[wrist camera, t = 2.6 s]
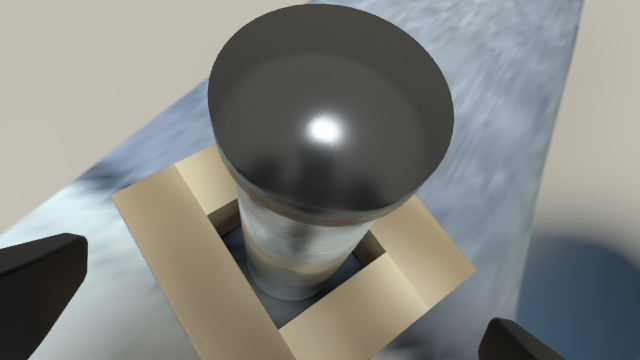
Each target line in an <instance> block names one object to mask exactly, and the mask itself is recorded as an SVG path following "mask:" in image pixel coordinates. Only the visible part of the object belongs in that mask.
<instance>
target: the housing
mask: <svg viewBox="0 0 640 360" xmlns="http://www.w3.org/2000/svg"><path fill="white" fill-rule="evenodd" d="M111 198H112V200H113V202H114V204H115V206H116V207H117V209H118V211H119V213H120V215H121V217H122V218H123V220H124V222H125V224H126V226H127V227H128V229H129V231H130V233H131V235H132V237H133V238H134V240H135V242H136V244H137V246H138V248H139V249H140V251H141V253H142V255H143V257H144V258H145V260H146V262H147V264H148V266H149V268H150V269H151V271H152V273H153V275H154V277H155V279H156V280H157V282H158V284H159V286H160V288H161V289H162V291H163V293H164V295H165V297H166V299H167V300H168V302H169V304H170V306H171V308H172V310H173V311H174V313H175V315H176V317H177V319H178V320H179V322H180V324H181V326H182V328H183V330H184V331H185V333H186V335H187V337H188V339H189V341H190V342H191V344H192V346H193V348H194V350H195V351H196V353H197V355H198V357H199V359H200V360H369V359H370V358H372V357H373V356H374V355H375V354H376V353H378V352H379V351H380V350H381V349H382V348H384V347H385V346H386V345H387V344H388V343H390V342H391V341H392V340H393V339H394V338H396V337H397V336H398V335H399V334H401V333H402V332H403V331H404V330H405V329H407V328H408V327H409V326H410V325H411V324H413V323H414V322H415V321H416V320H417V319H419V318H420V317H421V316H422V315H423V314H425V313H426V312H427V311H428V310H429V309H431V308H432V307H433V306H434V305H436V304H437V303H438V302H439V301H440V300H442V299H443V298H444V297H445V296H446V295H448V294H449V293H450V292H451V291H452V290H454V289H455V288H456V287H457V286H458V285H460V284H461V283H462V282H463V281H464V280H466V279H467V278H468V277H469V276H471V275H472V274H473V273H474V272H475V271H477V270H476V269H475V267H474V266H473V265H472V264H471V263H470V261H469V260H468V259H467V258H466V257H465V255H464V254H463V253H462V252H461V250H460V249H459V248H458V247H457V246H456V244H455V243H454V242H453V241H452V239H451V238H450V237H449V236H448V235H447V233H446V232H445V231H444V230H443V229H442V227H441V226H440V225H439V224H438V222H437V221H436V220H435V219H434V218H433V216H432V215H431V214H430V213H429V211H428V210H427V209H426V208H425V207H424V205H423V204H422V203H421V202H420V201H419V199H418V198H417V197H416V196H415V194H414V195H413V196H412V197H411V198H410V199H409V200H408V201H407V202H405V203H404V204H403V205H402V206H400V207H399V208H398V209H396V210H394V211H393V212H391V213H389V214H387V215H386V216H383V217H381V218H379V219H377V220H376V221H375V222H374V224H373V225H372V226H371V227H370V229H369V230H368V231H367V233H366V234H365V235H364V236H363V238H362V239H361V240H360V242H359V243H358V244H357V245H356V247H355V248H354V249H353V252H354V253H355V255H356V256H357V257H358V259H359V260H360V262H361V263H362V264H363V266H364V267H365V268H363V269H362V270H361V271H359V272H358V273H357V274H355V275H354V276H352V277H351V278H350V279H348V280H347V281H345V282H344V283H343V284H341V285H340V286H339V287H337V288H336V289H334V290H333V291H332V292H330V293H329V294H327V295H326V296H325V297H323V298H322V299H321V300H319V301H318V302H316V303H315V304H314V305H312V306H311V307H309V308H308V309H307V310H305V311H304V312H302V313H301V314H300V315H298V316H297V317H296V318H294V319H293V320H291V321H290V322H289V323H287V324H286V325H284V326H283V327H282V328H280V329H279V330H278V329H277V328H276V326H275V324H274V323H273V321H272V320H271V318H270V316H269V315H268V313H267V312H266V310H265V308H264V307H263V305H262V304H261V302H260V300H259V299H258V297H257V295H256V294H255V292H254V291H253V289H252V287H251V286H250V284H249V283H248V281H247V279H246V278H245V276H244V275H243V273H242V271H241V270H240V268H239V267H238V265H237V263H236V262H235V260H234V259H233V257H232V255H231V254H230V252H229V251H228V249H227V247H226V246H225V244H224V243H223V241H222V239H221V238H220V237H221V236H223V235H224V234H226V233H228V232H229V231H231V230H233V229H234V228H236V227H238V226H240V225H241V217H240V210H239V203H238V196H237V189H236V182H235V180H234V179H233V178H232V176H231V175H230V174H229V172H228V170H227V169H226V167H225V165H224V163H223V162H222V159H221V157H220V154H219V152H218V149H217V146H216V143H215V144H213V145H211V146H209V147H207V148H205V149H203V150H201V151H199V152H197V153H195V154H193V155H191V156H189V157H187V158H185V159H183V160H181V161H179V162H177V163H175V164H173V165H171V166H169V167H167V168H165V169H163V170H161V171H159V172H157V173H155V174H153V175H151V176H149V177H147V178H145V179H143V180H141V181H139V182H137V183H135V184H133V185H131V186H129V187H127V188H125V189H123V190H121V191H119V192H117V193H115V194H113V195H111Z"/></svg>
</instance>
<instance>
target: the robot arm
mask: <svg viewBox="0 0 640 360" xmlns="http://www.w3.org/2000/svg"><path fill="white" fill-rule="evenodd" d="M87 260H88V242H87V239H86V238H85V237H84V236H81V235H76V234H71V233H62V234H58V235H54V236H50V237H46V238H42V239H38V240H34V241H30V242H26V243H22V244H18V245H14V246H10V247H6V248H2V249H0V360H28V358H29V357H30V356H31V355H32V354H33V352H34V351H35V350H36V349H37V347H38V346H39V345H40V344H41V342H42V341H43V340H44V338H45V337H46V336H47V334H48V333H49V331H50V330H51V328H52V327H53V325H54V324H55V322H56V321H57V320H58V318H59V317H60V315H61V314H62V312H63V311H64V309H65V308H66V306H67V305H68V303H69V302H70V300H71V299H72V297H73V296H74V294H75V293H76V291H77V290H78V288H79V287H80V285H81V284H82V283H83V281H84V279H85V277H86V274H87ZM478 356H479V360H566V359H565V358H563V357H562V356H561V355H559V354H558V353H557V352H555V351H554V350H552V349H551V348H550V347H548V346H547V345H545V344H544V343H543V342H541V341H540V340H539V339H537V338H536V337H534V336H533V335H532V334H530V333H529V332H527V331H526V330H525V329H523V328H522V327H521V326H519V325H518V324H517V323H515V322H514V321H511V320H508V319H503V318H497V317H495V318H493V319H491V321H490V322H489V324H488V327H487V329H486V331H485V334H484V336H483V338H482V340H481V343H480V345H479V350H478Z"/></svg>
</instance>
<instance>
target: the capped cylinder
mask: <svg viewBox="0 0 640 360" xmlns="http://www.w3.org/2000/svg"><path fill="white" fill-rule="evenodd" d="M208 107H209V112H210V117H211V122H212V127H213V132H214V136H215V141H216V146H217V149H218V152H219V154H220V157H221V159H222V162H223V163H224V165H225V167H226V169H227V170H228V172H229V174H230V175H231V176H232V178H233V179H234V180H235V182H236V189H237V196H238V203H239V210H240V217H241V224H242V231H243V238H244V245H245V252H246V259H247V265H248V270H249V272H250V275H251V277H252V279H253V281H254V282H255V283H256V285H257V286H258V287H259V288H260V289H261V290H262V291H264V292H265V293H266V294H268V295H270V296H271V297H274V298H276V299H280V300H284V301H298V300H303V299H306V298H309V297H311V296H313V295H315V294H316V293H318V292H319V291H320V290H321V289H322V288H323V287H324V286H325V285H326V284H327V283H328V281H329V280H330V279H331V277H332V276H333V275H334V274H335V272H336V271H337V270H338V268H339V267H340V266H341V265H342V263H343V262H344V261H345V260H346V258H347V257H348V256H349V254H350V253H351V252H352V251H353V249H354V248H355V247H356V245H357V244H358V243H359V242H360V240H361V239H362V238H363V236H364V235H365V234H366V233H367V231H368V230H369V229H370V227H371V226H372V225H373V224H374V222H375V221H376V220H377V219H379V218H381V217H383V216H386V215H387V214H389V213H391V212H393V211H394V210H396V209H398V208H399V207H400V206H402V205H403V204H404V203H405V202H407V201H408V200H409V199H410V198H411V197H412V196H413V195H414V194H415V192H416V191H417V190H418V189H419V188H420V187H421V186H422V185H423V184H424V182H425V181H426V180H427V179H428V178H429V177H430V176H431V174H432V173H433V172H434V171H435V170H436V169H437V167H438V166H439V164H440V163H441V161H442V160H443V158H444V156H445V154H446V152H447V149H448V147H449V145H450V141H451V137H452V133H453V125H454V110H453V103H452V98H451V93H450V90H449V88H448V85H447V82H446V80H445V78H444V76H443V74H442V72H441V70H440V68H439V67H438V65H437V64H436V63H435V61H434V60H433V58H432V57H431V56H430V55H429V53H428V52H427V51H426V50H425V49H424V48H423V47H422V46H421V45H420V44H419V43H418V42H417V41H416V40H415V39H414V38H412V37H411V36H410V35H408V34H407V33H406V32H405V31H403V30H402V29H400V28H398V27H397V26H395V25H394V24H392V23H390V22H388V21H386V20H384V19H382V18H380V17H378V16H376V15H373V14H370V13H368V12H365V11H362V10H358V9H354V8H351V7H345V6H340V5H331V4H303V5H295V6H290V7H285V8H281V9H278V10H275V11H272V12H269V13H266V14H264V15H262V16H260V17H258V18H256V19H254V20H253V21H251V22H249V23H248V24H246V25H245V26H243V27H242V28H241V29H240V30H239V31H237V32H236V33H235V34H234V35H233V36H232V37H231V38H230V39H229V40H228V42H227V43H226V44H225V45H224V47H223V48H222V50H221V51H220V53H219V54H218V56H217V58H216V60H215V63H214V65H213V67H212V71H211V74H210V78H209V85H208Z"/></svg>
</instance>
